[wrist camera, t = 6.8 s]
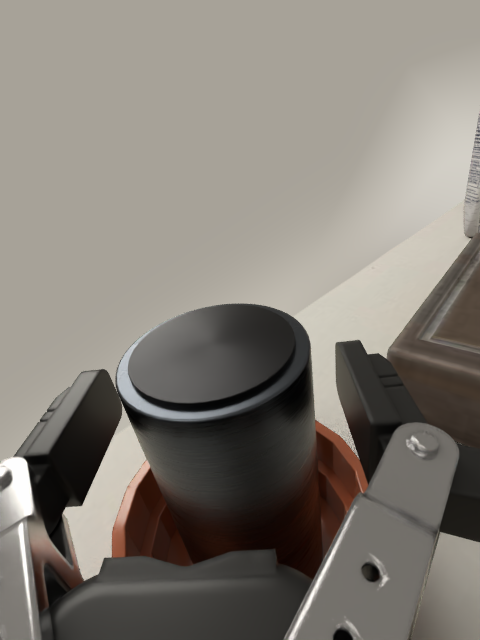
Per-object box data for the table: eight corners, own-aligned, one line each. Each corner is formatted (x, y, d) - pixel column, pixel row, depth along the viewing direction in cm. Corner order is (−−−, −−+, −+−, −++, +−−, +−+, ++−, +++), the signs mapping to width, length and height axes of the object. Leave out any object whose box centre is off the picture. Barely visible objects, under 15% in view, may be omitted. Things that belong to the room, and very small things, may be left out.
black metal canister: (174, 595, 14) (67, 395, 9) (227, 478, 18) (178, 296, 13) (308, 656, 12) (276, 439, 6) (332, 506, 16) (326, 302, 11)
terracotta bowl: (96, 653, 13) (46, 601, 11) (208, 446, 21) (192, 392, 19) (367, 812, 9) (375, 782, 7) (379, 485, 17) (385, 423, 15)
